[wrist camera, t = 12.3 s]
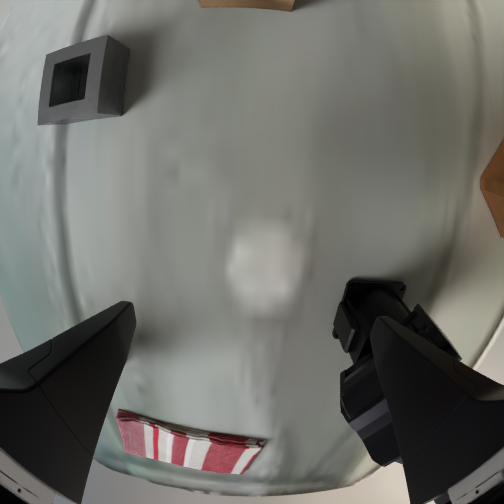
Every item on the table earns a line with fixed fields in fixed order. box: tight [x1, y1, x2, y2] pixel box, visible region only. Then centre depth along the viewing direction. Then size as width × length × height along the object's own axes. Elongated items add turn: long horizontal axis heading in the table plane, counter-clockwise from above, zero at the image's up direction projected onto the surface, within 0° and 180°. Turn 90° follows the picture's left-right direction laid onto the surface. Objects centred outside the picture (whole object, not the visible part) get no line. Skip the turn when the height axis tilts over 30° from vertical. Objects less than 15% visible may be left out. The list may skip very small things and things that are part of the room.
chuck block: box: [38, 35, 130, 125], centre depth 15 cm, size 6×6×4 cm
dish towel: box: [116, 409, 265, 474], centre depth 36 cm, size 17×23×3 cm
